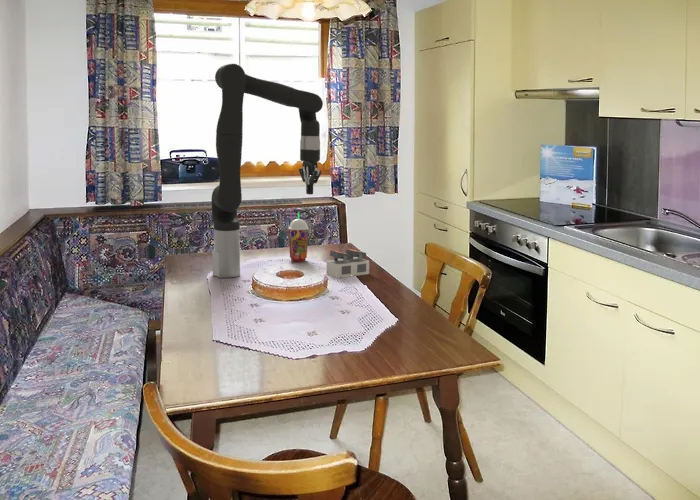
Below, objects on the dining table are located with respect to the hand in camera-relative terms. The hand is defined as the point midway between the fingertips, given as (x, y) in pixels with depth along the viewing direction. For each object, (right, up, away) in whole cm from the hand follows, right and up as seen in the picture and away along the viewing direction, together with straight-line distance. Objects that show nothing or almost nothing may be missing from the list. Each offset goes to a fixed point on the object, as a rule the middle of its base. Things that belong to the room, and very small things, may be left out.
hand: (309, 194), depth 260 cm
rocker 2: (+18, -23, -2) cm, 29 cm away
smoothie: (-6, -26, +20) cm, 33 cm away
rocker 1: (+12, -23, -5) cm, 27 cm away
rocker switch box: (+14, -30, -2) cm, 34 cm away
